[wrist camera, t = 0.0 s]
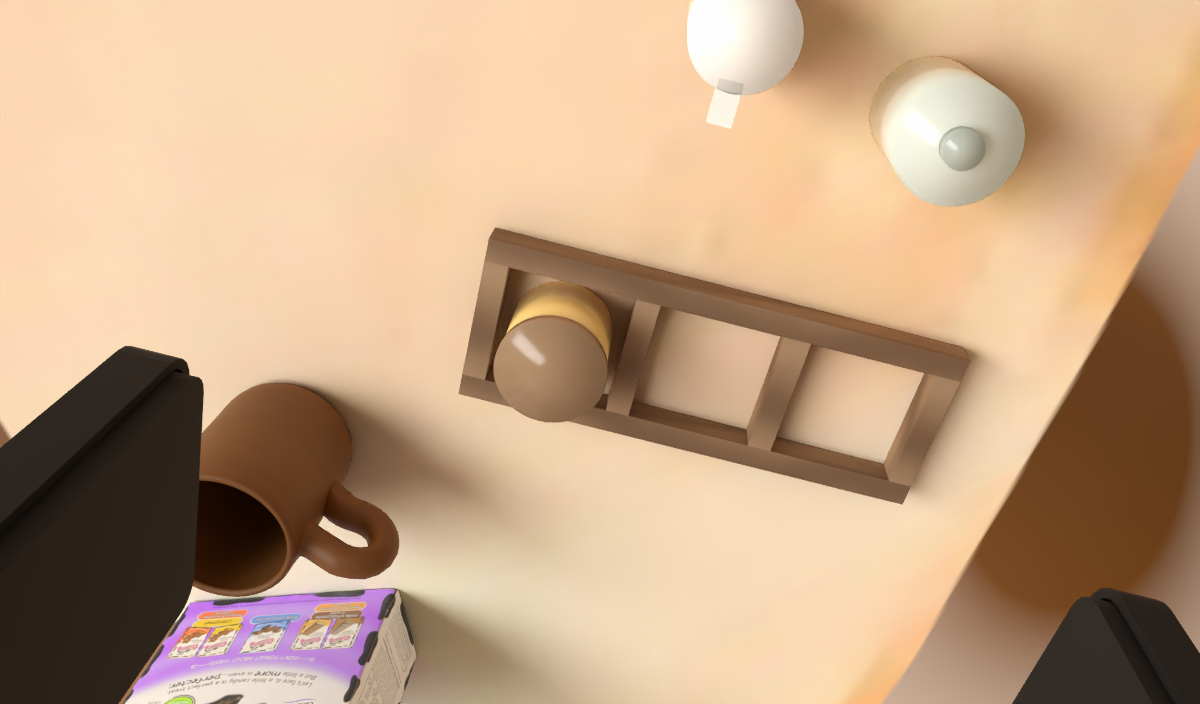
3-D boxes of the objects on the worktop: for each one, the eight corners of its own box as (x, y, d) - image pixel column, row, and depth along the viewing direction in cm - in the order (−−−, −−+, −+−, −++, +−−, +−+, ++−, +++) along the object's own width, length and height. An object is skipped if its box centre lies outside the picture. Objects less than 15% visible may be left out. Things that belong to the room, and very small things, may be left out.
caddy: (495, 227, 47) (489, 238, 46) (961, 347, 48) (970, 361, 47) (465, 379, 51) (458, 393, 50) (896, 487, 52) (902, 504, 51)
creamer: (703, -51, 41) (705, -39, 35) (801, -25, 41) (819, -8, 35) (668, 80, 44) (665, 111, 38) (760, 104, 44) (772, 139, 38)
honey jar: (522, 268, 48) (505, 308, 44) (625, 294, 48) (619, 337, 44) (502, 359, 51) (484, 407, 46) (600, 384, 51) (592, 433, 46)
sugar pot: (893, 43, 42) (927, 71, 36) (1001, 72, 42) (1054, 104, 36) (853, 151, 44) (879, 195, 38) (956, 178, 45) (998, 226, 38)
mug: (444, 424, 53) (398, 527, 45) (416, 528, 56) (368, 642, 48) (233, 360, 52) (146, 452, 44) (218, 469, 56) (134, 574, 47)
